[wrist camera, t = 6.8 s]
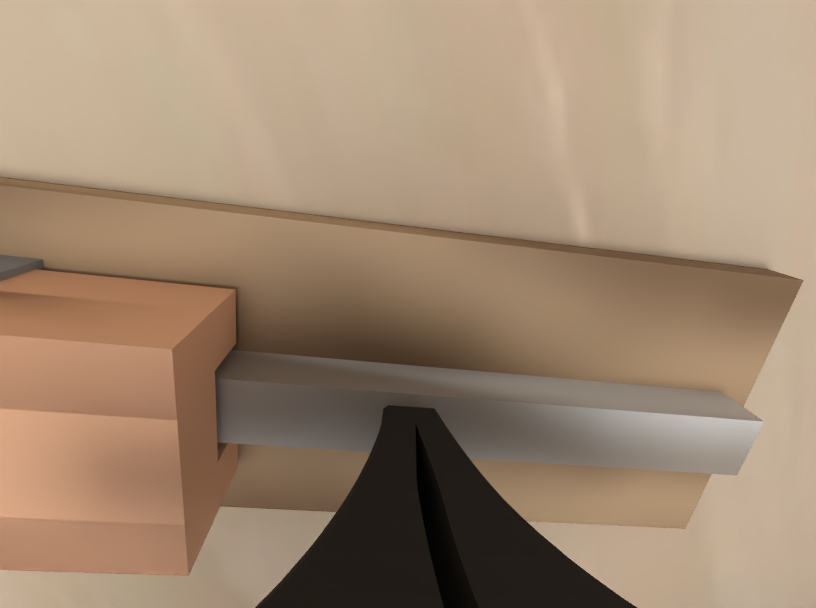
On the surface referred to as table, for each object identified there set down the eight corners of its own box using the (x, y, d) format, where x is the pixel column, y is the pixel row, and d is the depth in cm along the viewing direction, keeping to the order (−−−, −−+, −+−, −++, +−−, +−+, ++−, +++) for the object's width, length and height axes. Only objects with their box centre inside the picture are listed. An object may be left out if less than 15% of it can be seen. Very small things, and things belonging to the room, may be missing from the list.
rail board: (665, 503, 17) (792, 662, 12) (32, 469, 14) (-167, 649, 9) (768, 269, 14) (1013, 344, 8) (-34, 173, 11) (-407, 192, 6)
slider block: (238, 467, 13) (188, 575, 10) (69, 457, 13) (-44, 568, 9) (235, 289, 11) (171, 349, 8) (35, 269, 11) (-126, 324, 7)
